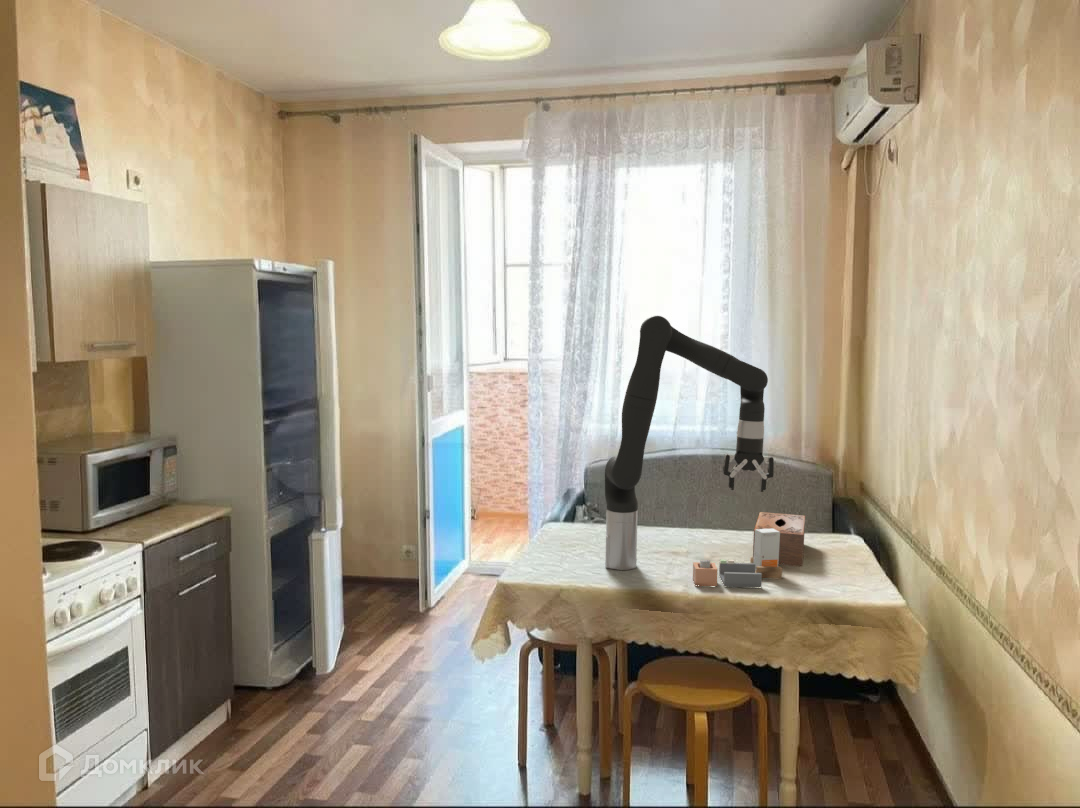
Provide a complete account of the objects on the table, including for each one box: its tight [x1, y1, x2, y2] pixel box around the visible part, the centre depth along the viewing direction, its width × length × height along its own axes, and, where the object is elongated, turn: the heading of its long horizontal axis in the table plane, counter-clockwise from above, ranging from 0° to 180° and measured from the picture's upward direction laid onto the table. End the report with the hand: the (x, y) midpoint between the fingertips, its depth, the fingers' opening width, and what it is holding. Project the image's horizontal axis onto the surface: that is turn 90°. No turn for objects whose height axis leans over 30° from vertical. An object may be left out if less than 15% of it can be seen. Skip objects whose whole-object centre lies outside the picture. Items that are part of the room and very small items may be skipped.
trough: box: [749, 556, 783, 580], centre depth 241 cm, size 7×10×3 cm
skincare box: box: [754, 528, 780, 570], centre depth 241 cm, size 6×4×12 cm
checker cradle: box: [718, 559, 763, 588], centre depth 233 cm, size 10×10×5 cm
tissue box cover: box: [752, 511, 806, 567], centre depth 262 cm, size 26×14×10 cm, turn 161°
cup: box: [692, 558, 719, 587], centre depth 232 cm, size 6×6×6 cm
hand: (746, 490), depth 242 cm, fingers open, 8 cm apart
